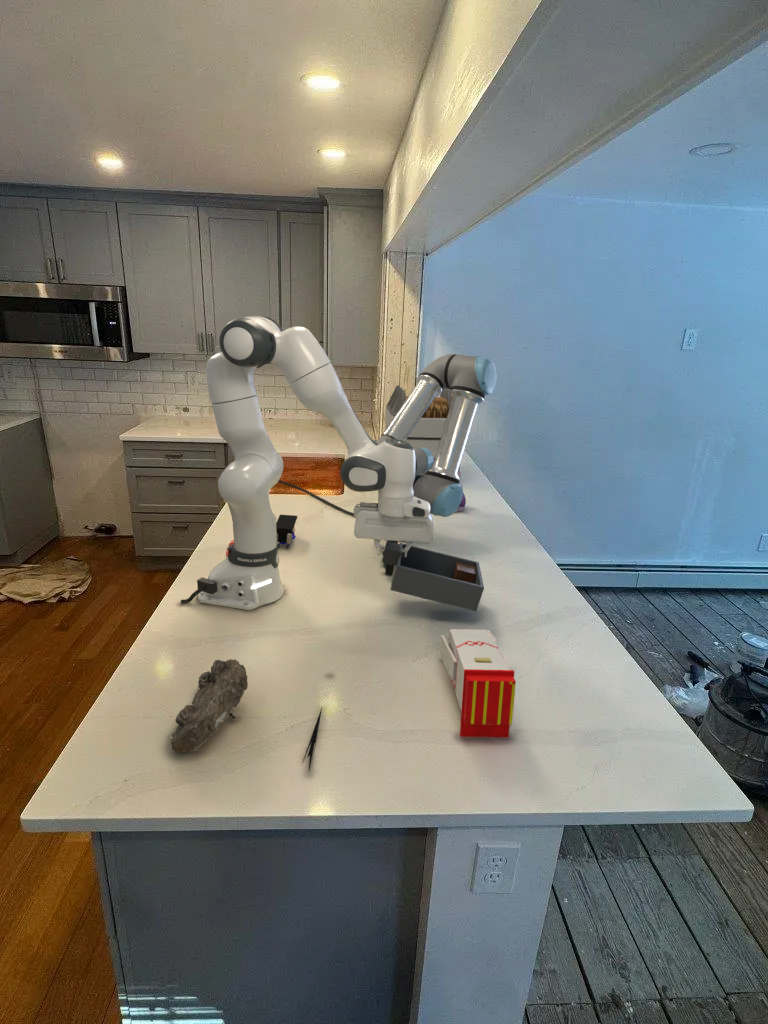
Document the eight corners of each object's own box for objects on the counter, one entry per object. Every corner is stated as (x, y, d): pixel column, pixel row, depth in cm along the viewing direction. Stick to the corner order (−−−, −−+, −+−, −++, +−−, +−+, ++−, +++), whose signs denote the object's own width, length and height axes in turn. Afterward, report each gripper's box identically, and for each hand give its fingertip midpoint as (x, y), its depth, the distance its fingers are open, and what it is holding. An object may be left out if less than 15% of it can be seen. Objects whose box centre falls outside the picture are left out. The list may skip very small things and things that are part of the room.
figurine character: (292, 555, 182) (298, 532, 196) (292, 534, 179) (298, 513, 192) (272, 554, 182) (279, 532, 195) (270, 533, 179) (278, 512, 192)
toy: (489, 613, 130) (525, 677, 101) (485, 667, 133) (518, 744, 104) (437, 612, 130) (457, 676, 101) (434, 666, 133) (453, 743, 103)
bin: (375, 586, 140) (383, 556, 138) (380, 561, 155) (388, 533, 152) (476, 611, 140) (486, 581, 138) (471, 584, 155) (480, 556, 152)
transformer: (381, 463, 289) (385, 382, 275) (444, 464, 292) (450, 384, 279) (389, 482, 257) (393, 392, 243) (459, 483, 261) (467, 394, 247)
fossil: (195, 660, 117) (247, 628, 112) (227, 691, 120) (279, 661, 115) (146, 746, 98) (206, 711, 93) (185, 779, 101) (245, 748, 96)
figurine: (452, 514, 221) (455, 477, 216) (438, 506, 229) (441, 470, 224) (472, 511, 225) (475, 475, 220) (457, 503, 234) (460, 468, 229)
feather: (331, 679, 122) (336, 673, 122) (307, 777, 96) (313, 769, 95) (324, 675, 122) (329, 669, 121) (298, 772, 95) (304, 764, 95)
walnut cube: (452, 586, 149) (457, 569, 147) (451, 578, 154) (456, 561, 152) (470, 590, 149) (475, 574, 147) (469, 582, 154) (474, 566, 152)
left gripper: (352, 505, 139) (350, 557, 143) (436, 511, 138) (431, 563, 142) (355, 497, 145) (353, 547, 149) (435, 503, 144) (431, 553, 148)
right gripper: (405, 513, 157) (401, 582, 164) (408, 487, 180) (404, 549, 187) (378, 511, 157) (375, 580, 164) (385, 486, 181) (382, 547, 188)
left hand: (392, 555), depth 146 cm, fingers closed on bin, 4 cm apart
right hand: (391, 564), depth 176 cm, fingers open, 13 cm apart
